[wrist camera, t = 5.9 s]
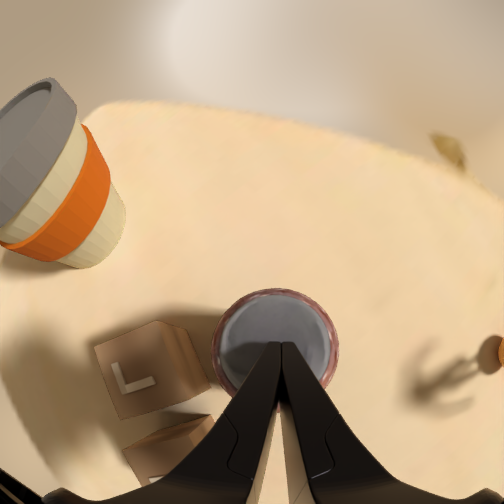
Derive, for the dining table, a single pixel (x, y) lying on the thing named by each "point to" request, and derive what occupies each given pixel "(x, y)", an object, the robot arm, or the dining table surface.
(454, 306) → the dining table surface
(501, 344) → the figurine
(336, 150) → the dining table surface
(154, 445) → the block one
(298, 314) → the supplement bottle
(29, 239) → the reusable coffee cup
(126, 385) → the block seven
